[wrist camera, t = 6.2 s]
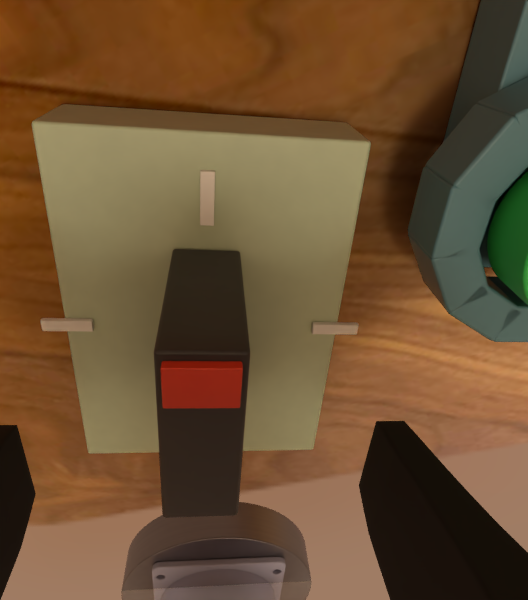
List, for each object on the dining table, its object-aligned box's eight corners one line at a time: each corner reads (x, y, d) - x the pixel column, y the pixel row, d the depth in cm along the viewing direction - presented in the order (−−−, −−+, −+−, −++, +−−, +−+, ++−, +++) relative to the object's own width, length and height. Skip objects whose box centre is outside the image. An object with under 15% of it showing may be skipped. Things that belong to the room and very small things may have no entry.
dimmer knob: (232, 390, 15) (238, 525, 11) (176, 390, 15) (161, 528, 11) (240, 249, 13) (251, 360, 8) (172, 247, 12) (151, 359, 8)
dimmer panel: (317, 402, 19) (330, 453, 17) (86, 403, 18) (68, 458, 16) (367, 123, 14) (398, 144, 11) (37, 101, 13) (-1, 120, 10)
